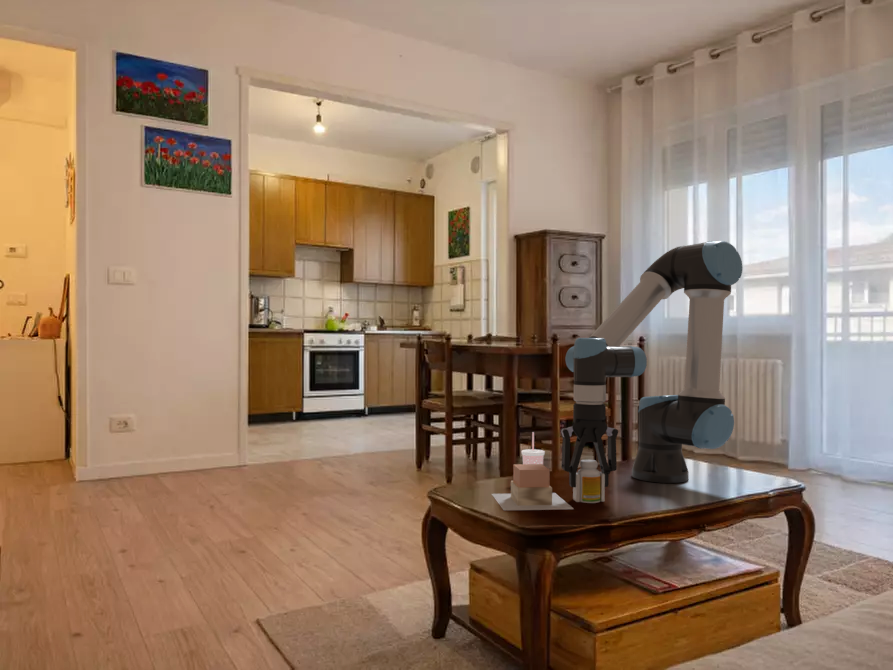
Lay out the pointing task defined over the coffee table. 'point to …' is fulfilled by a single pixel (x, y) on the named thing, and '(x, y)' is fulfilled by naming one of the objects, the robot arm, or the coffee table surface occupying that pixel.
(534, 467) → the tower top block
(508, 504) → the tower mat
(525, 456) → the beverage cup
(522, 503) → the tower base block
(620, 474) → the coffee table surface
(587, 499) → the supplement bottle
